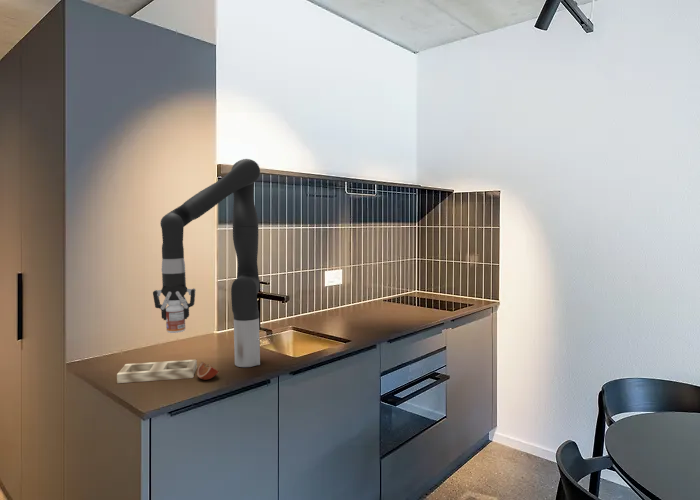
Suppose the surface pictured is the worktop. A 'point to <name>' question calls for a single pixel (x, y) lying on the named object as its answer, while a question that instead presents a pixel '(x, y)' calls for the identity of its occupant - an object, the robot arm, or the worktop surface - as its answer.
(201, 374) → the fruit slice
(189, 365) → the rail
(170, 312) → the pill bottle
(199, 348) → the worktop surface
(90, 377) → the worktop surface
